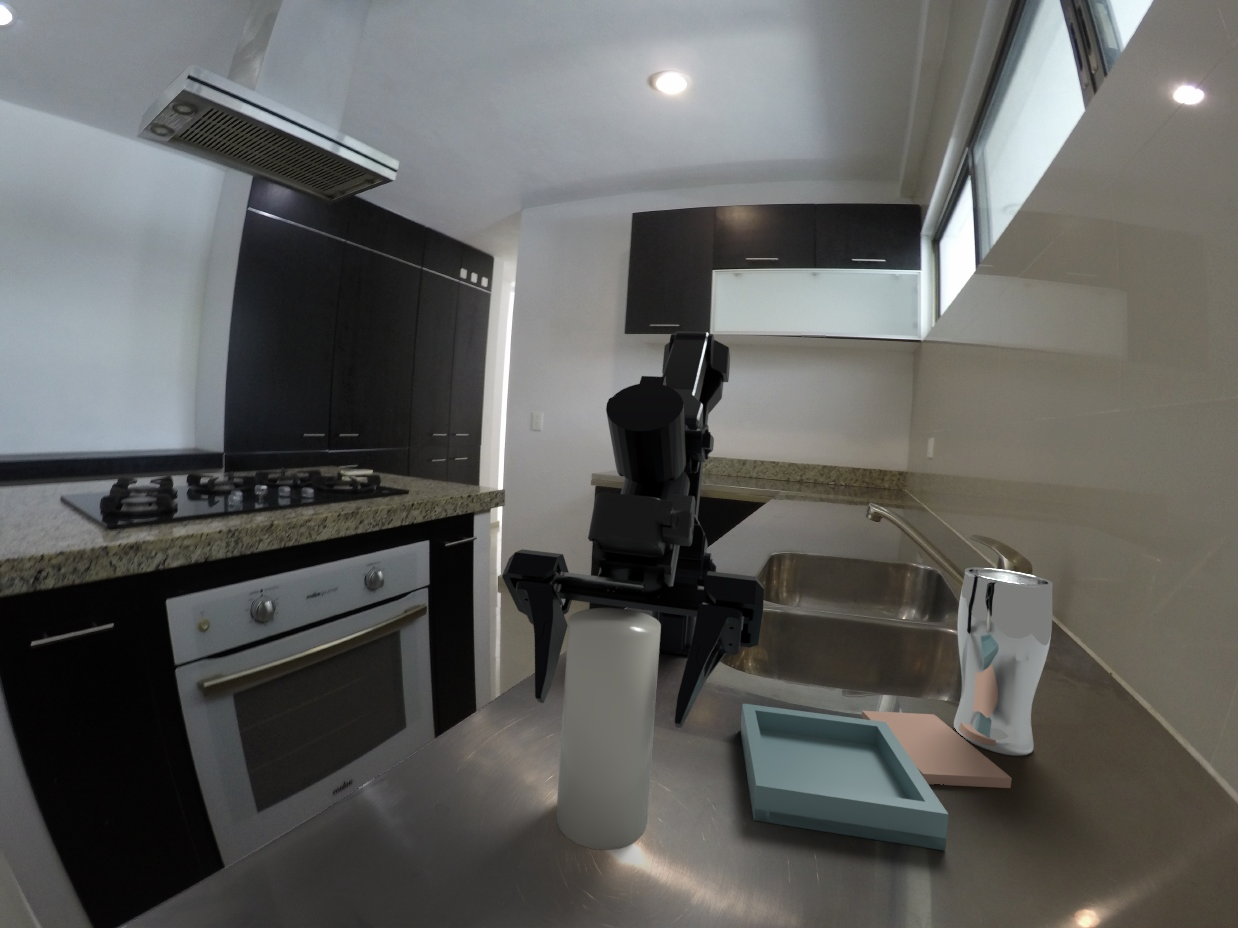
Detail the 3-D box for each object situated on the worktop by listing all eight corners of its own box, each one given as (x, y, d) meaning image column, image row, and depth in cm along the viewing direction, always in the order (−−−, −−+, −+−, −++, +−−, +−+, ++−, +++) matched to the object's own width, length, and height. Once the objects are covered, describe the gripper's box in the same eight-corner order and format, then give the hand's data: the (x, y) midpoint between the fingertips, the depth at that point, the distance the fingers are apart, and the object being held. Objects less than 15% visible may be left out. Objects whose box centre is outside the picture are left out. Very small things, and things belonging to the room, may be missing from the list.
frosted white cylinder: (568, 781, 40) (579, 604, 39) (650, 794, 39) (663, 613, 39) (545, 840, 34) (558, 631, 34) (642, 856, 33) (657, 643, 33)
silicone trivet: (861, 718, 53) (862, 710, 53) (933, 722, 53) (934, 714, 53) (922, 783, 43) (923, 773, 43) (1010, 787, 43) (1011, 777, 43)
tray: (740, 729, 49) (742, 703, 49) (883, 749, 47) (885, 721, 47) (753, 819, 37) (756, 785, 37) (945, 850, 35) (948, 813, 35)
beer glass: (997, 762, 46) (1014, 585, 46) (930, 721, 53) (944, 566, 53) (1059, 755, 48) (1076, 585, 48) (987, 716, 55) (1001, 566, 54)
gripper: (520, 444, 42) (432, 632, 32) (773, 462, 38) (766, 685, 28) (549, 532, 50) (486, 705, 40) (761, 555, 46) (752, 755, 36)
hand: (606, 712), depth 36 cm, fingers open, 9 cm apart
